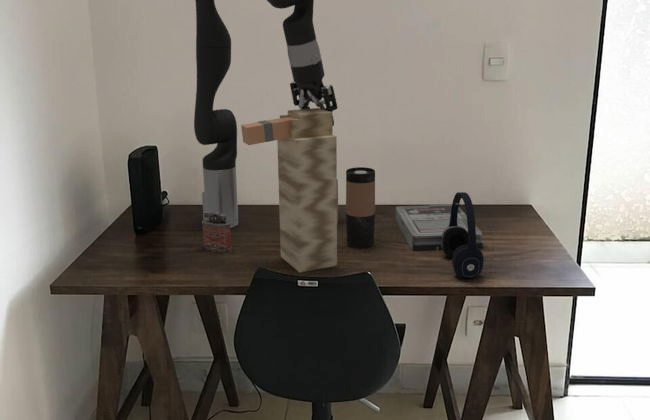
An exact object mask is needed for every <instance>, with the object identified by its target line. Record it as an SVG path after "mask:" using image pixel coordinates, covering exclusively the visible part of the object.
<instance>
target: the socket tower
mask: <svg viewBox="0 0 650 420" xmlns="http://www.w3.org/2000/svg"><path fill="white" fill-rule="evenodd" d="M332 115H333V111H332V112H329V111H326V110H321V109H320V108H319V107H315V108H310V109H300V108H299V109H293V110H292V109H291V110H287V114H281V115H279V118H284V117H290V116H293V117H295V118H298V119H291V137H290V138H285V139H280V140H276V143H277V144H276V145H277V171H278V172H277V174H278V176H277V178H278V206H279V208H278V209H279V237H280V238H279V239H280V240H279V242H280V243H279V244H280V257H281V258H282V259H283V260H284V261H286V263H288V264H289V265H290V266H291V267H293V268H294V269H295V270H296V271H297V272H298V273H304V272H305V273H306V272H311V271H315V270H316V271H317V270H321V269H326V268H330V267H337V266H338V224H337V180H338V178H337V177H338V175H337V170H338V169H337V168H338V167H337V161H338V160H337V155H338V154H337V136H336V135H334V134H333V126H332Z"/></svg>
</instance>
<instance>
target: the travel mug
mask: <svg viewBox="0 0 650 420" xmlns="http://www.w3.org/2000/svg"><path fill="white" fill-rule="evenodd" d="M345 180H346V181H345V225H346V227H345V228H346V244H347V246H348V247H351V248H355V249H367V248H370V247H373V245H374V242H375V225H376V224H375V223H376V222H375V220H376V171H375V169H374V168H371V167H361V166H358V167H357V166H356V167H350V168H347V169H346V171H345Z"/></svg>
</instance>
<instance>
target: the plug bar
mask: <svg viewBox="0 0 650 420" xmlns="http://www.w3.org/2000/svg"><path fill="white" fill-rule="evenodd" d="M291 119H298V118H295V117H293V116H290V117H284V118H280V117H279V118H273V119H268V120H258V121H257V122H252V123H246V124H240V126H241V127H240V128H241V133H242V136H241V137H242V141H243V143H244V144H245V145H248V146H252V145H258V144H264V143H269V142H273V141H277V140H280V139H285V138H290V137H291Z"/></svg>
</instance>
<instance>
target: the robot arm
mask: <svg viewBox="0 0 650 420" xmlns="http://www.w3.org/2000/svg"><path fill="white" fill-rule="evenodd" d="M194 1H195V11H196V12H195V15H196V16H195V17H196V18H195V21H196V22H195V23H196V24H195V25H196V27H195V28H196V38H195V57H196V58H195V59H196V92H195V105H194V118H193V129H194V130H193V131H194V135H195V138H196V140H197V142H198V143H199V144H201V145H203V146H208V145H209V146H210V145H216V146H215V148H214V149H213V150H212V151H211V152H209V153H207V154H206V155H205V156H203V158H202V173H203V175H202V177H203V189H204V191H203V192H202V193H201V199H202V200H201V201H202V202H201V203H202V215H203V216H202V217H203V220H209V218H205V217H204V213H205V212H211V213H217V212H220V214H225V215H226V221H228V222H231V226H230V229H232V228H235V227H237V226H238V225H239V208H238V207H239V204H238V188H237V187H238V185H237V169H236V168H237V167H236V165H237V164H236V163H237V157H238V126H237V125H238V124H237V120H236V119H237V118H236V117H235V114H234V113H233V112H232V111H231V110H230V109H228V108H223V109H214V102H215V97H216V94H217V92H218V90H219V88H220V85H221V84H222V82H223V81H224V79H225V77H226V75H227V73H228V71H229V70H230V67H231V63H232V39H231V35H230V33H229V30H228V28H227V26H226V25H225V22H224V21H223V19H222V18H221V16H220V14H219V12H218V10H217V6H216V3H215V0H194ZM266 1H267V2H268V3H269V4H270V5H271V6H272V7H273V8H276V9H280V10H281V9H282V10H283V9H288V8H291V7H293V6H294V7H293V12H292V13H291V14H290V15H289V16H288V17H286V18H285V19H284V20H283V22H282V29H283V30H282V31H283V33H284V39H285V42H286V48H287V56H288V61H289V65H290V70H291V75H292V79H293V82H291V83H289V87H290V91H291V97H292V101H293V105H294V106H295V107H296V106H298V108H299V110H300V109H311V106H310V102H311V103H312V104H314V105H315V106H316V108H320V109H321V110H326V111H329V112H332V113H333V112H334V111H336V110H338V103H337V99H336V94H335V89H334V87H333V85H332V84H329V85H328V86H327V85H325V84H324V82H323V79H324V77H325V70H324V64H323V59H322V55H321V50H320V46H319V44H318V41H317V36H316V30H315V26H314V20H313V19H314V1H315V0H266ZM324 105H325V106H324ZM334 126H335V121H334V116H333V114H332V127H334ZM212 220H213V218H212Z"/></svg>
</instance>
